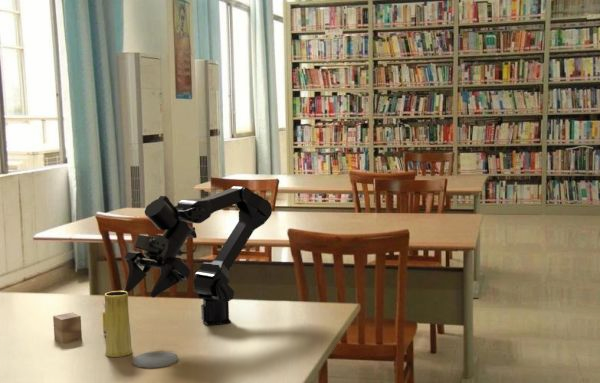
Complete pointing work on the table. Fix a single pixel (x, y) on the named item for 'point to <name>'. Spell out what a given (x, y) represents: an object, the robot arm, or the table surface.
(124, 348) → the vase
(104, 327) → the supplement bottle
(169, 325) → the table surface
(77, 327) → the walnut block
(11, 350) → the table surface
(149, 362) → the mat
